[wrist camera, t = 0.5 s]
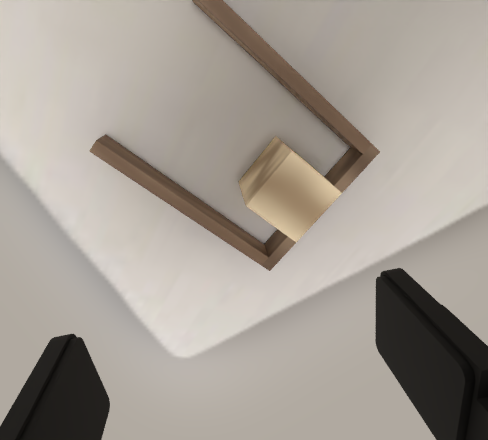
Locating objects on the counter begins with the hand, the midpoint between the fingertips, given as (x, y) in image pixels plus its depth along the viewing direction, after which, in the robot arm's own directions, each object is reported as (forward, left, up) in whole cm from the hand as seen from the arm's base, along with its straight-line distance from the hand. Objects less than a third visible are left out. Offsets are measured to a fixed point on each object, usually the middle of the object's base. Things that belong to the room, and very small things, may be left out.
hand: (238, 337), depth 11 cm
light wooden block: (-2, +7, -26) cm, 26 cm away
